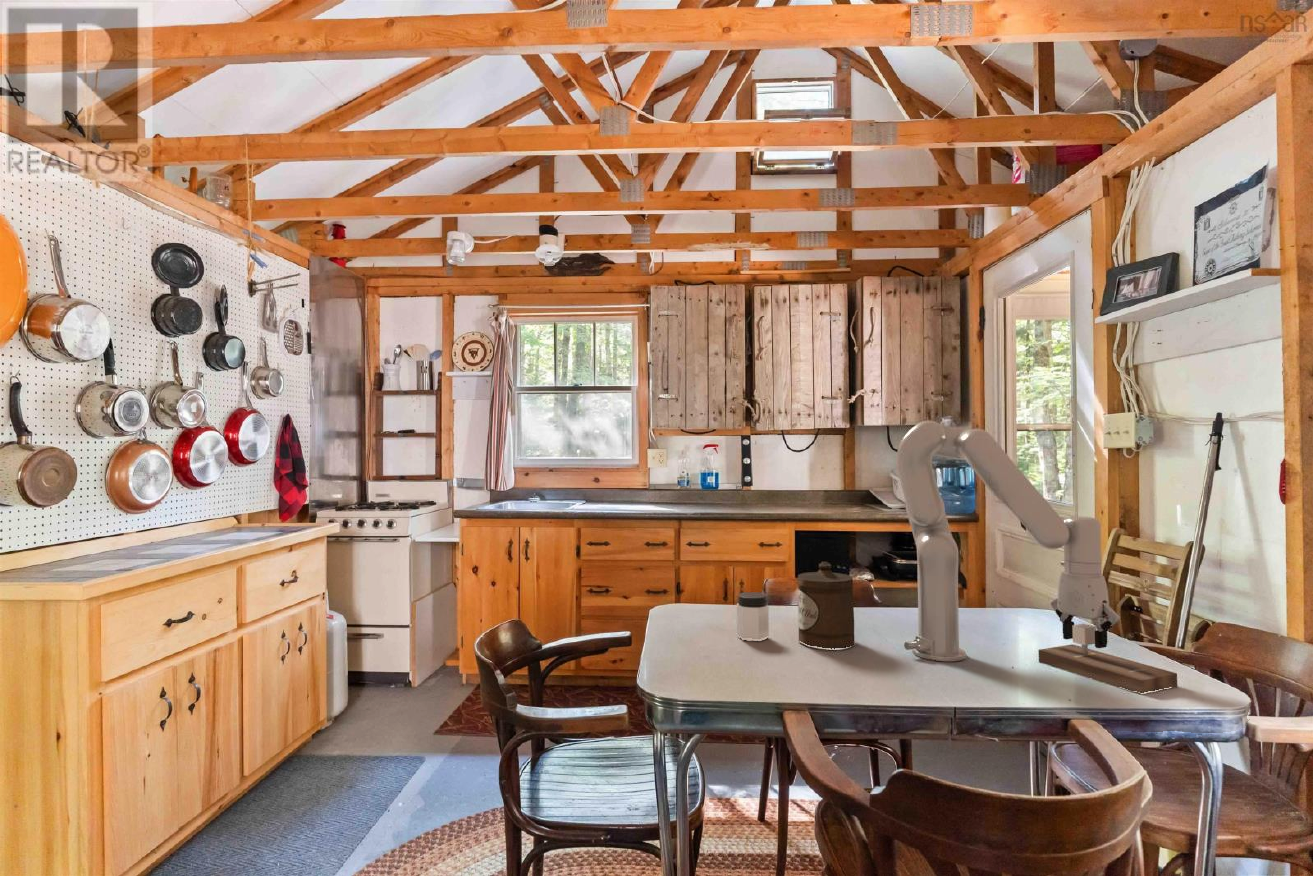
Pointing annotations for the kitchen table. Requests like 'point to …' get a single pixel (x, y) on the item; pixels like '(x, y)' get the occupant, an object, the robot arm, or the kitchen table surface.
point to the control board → (1108, 668)
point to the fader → (1084, 636)
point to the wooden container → (826, 608)
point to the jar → (752, 615)
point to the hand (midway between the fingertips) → (1084, 642)
